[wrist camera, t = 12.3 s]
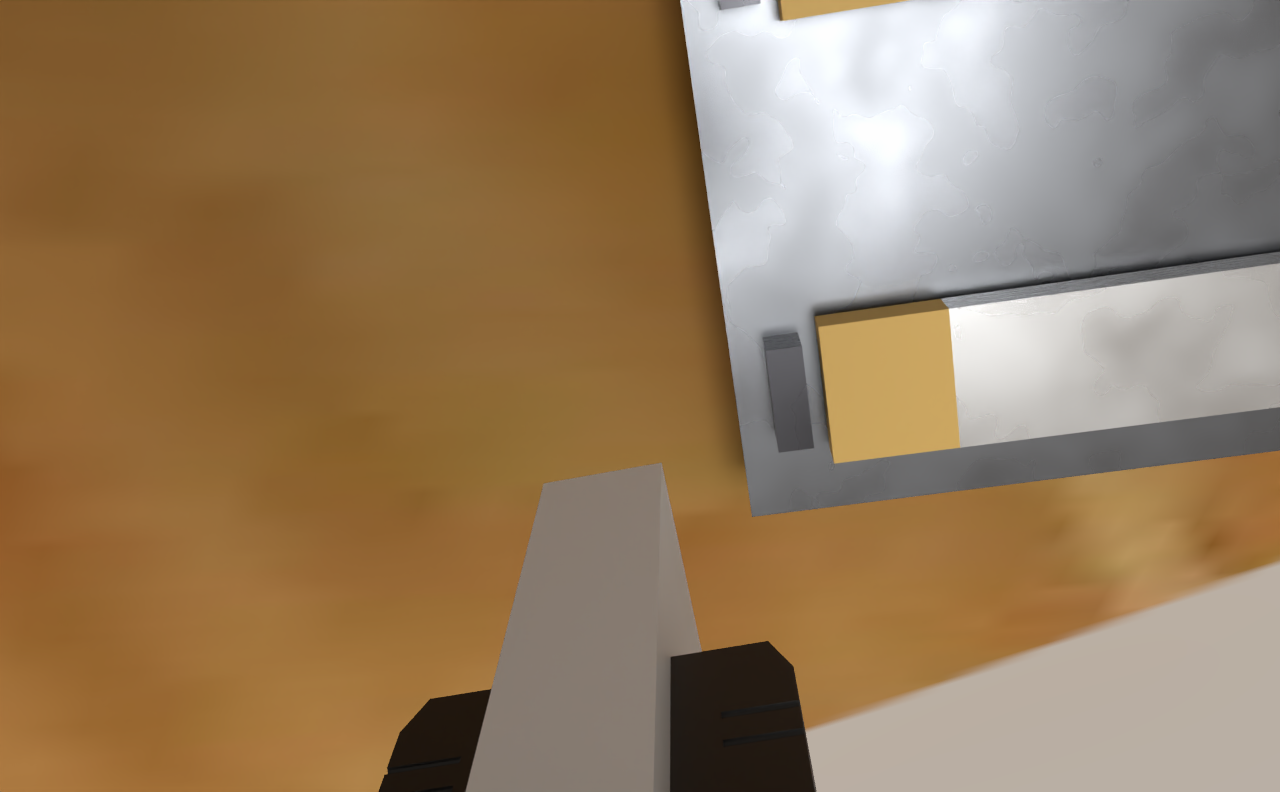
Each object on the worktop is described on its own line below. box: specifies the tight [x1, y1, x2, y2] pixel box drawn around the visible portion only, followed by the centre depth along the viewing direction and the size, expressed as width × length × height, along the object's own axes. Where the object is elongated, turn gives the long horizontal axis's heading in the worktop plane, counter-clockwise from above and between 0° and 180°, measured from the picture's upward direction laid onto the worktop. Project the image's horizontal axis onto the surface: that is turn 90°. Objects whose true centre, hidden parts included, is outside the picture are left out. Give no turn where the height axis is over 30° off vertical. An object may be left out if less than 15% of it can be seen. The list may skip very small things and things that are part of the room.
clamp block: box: [680, 0, 1280, 517], centre depth 32 cm, size 20×22×7 cm
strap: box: [814, 252, 1280, 464], centre depth 32 cm, size 17×4×2 cm, turn 99°
